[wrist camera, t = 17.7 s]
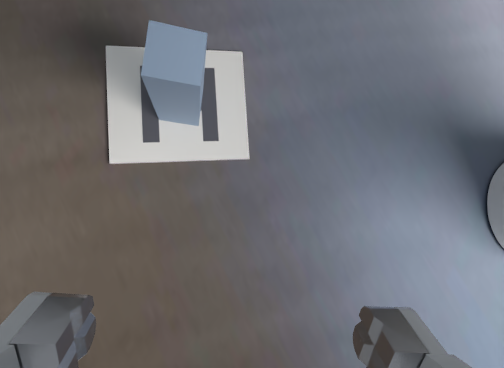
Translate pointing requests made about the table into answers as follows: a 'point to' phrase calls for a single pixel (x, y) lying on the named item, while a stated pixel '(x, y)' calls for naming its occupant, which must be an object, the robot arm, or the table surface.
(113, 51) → the letter card
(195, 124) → the blue block
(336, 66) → the table surface
